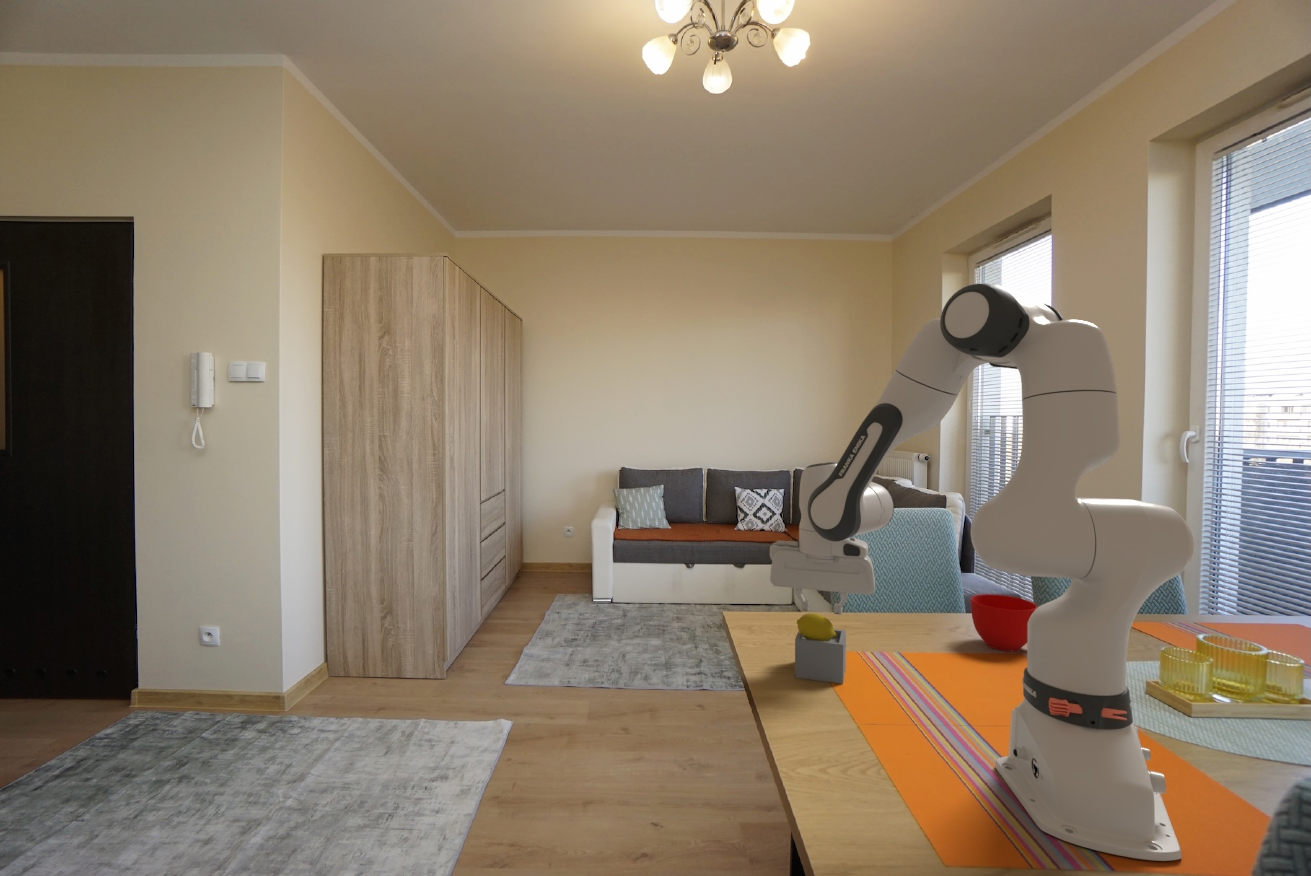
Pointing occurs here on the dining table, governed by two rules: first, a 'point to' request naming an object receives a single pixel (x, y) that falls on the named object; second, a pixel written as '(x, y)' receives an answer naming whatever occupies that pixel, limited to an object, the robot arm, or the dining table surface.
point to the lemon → (816, 627)
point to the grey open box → (821, 658)
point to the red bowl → (1002, 620)
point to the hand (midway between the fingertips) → (821, 611)
